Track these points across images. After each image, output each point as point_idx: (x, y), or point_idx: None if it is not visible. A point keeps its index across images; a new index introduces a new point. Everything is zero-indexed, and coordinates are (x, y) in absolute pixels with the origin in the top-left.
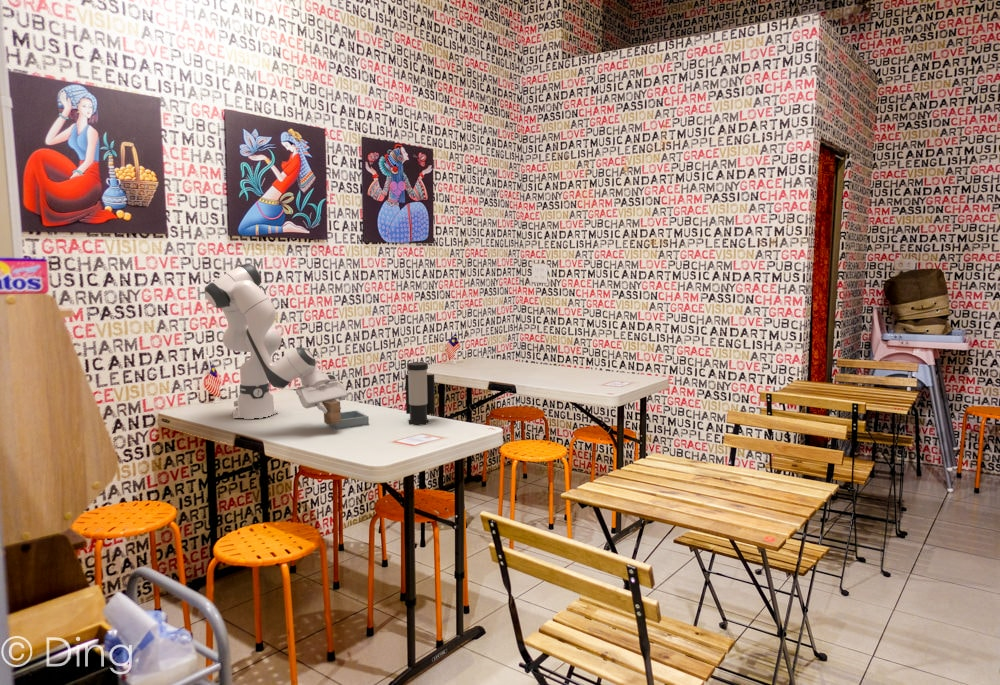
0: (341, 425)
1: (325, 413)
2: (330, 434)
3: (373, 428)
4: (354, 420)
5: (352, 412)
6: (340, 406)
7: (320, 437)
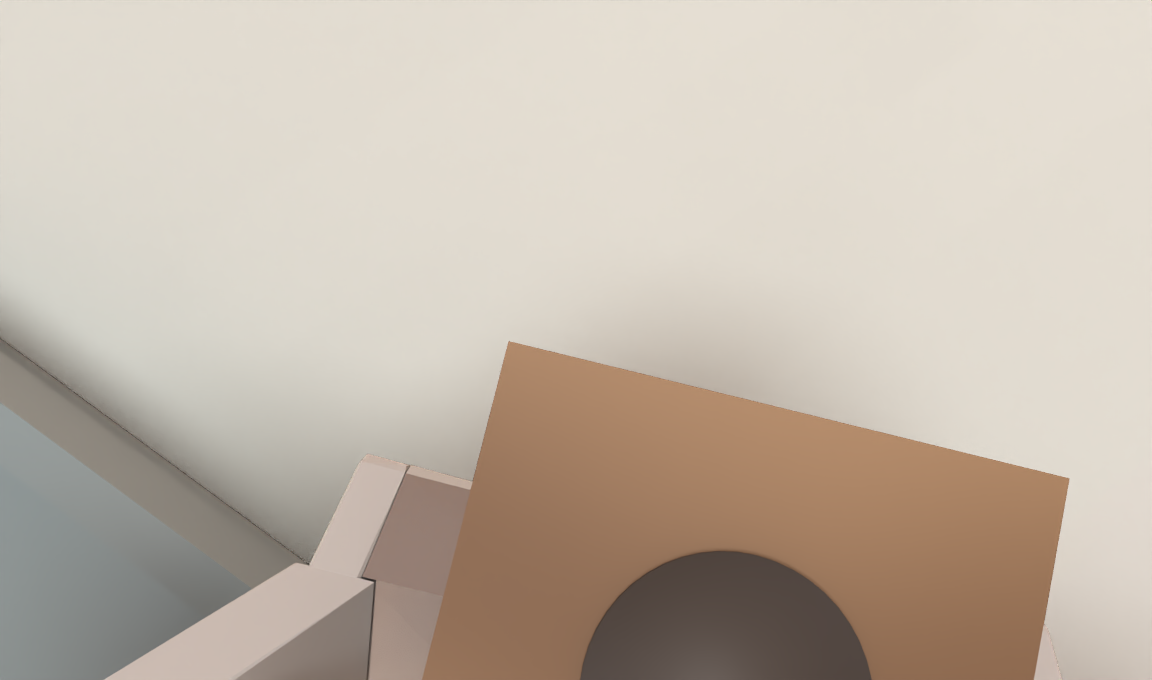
0: None
1: None
2: None
3: (99, 14)
4: (29, 406)
5: None
6: (354, 484)
7: None
